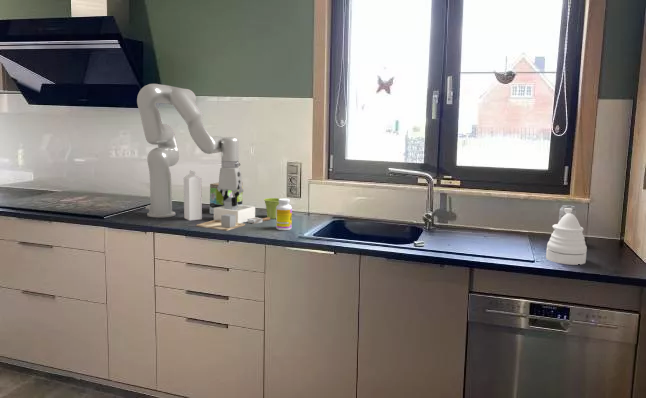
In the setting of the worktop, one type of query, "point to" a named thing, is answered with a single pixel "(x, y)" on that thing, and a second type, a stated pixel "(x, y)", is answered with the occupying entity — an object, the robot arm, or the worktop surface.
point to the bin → (236, 213)
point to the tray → (218, 225)
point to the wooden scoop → (257, 220)
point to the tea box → (220, 197)
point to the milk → (192, 197)
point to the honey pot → (567, 241)
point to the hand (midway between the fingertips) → (230, 204)
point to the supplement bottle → (284, 215)
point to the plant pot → (271, 207)
